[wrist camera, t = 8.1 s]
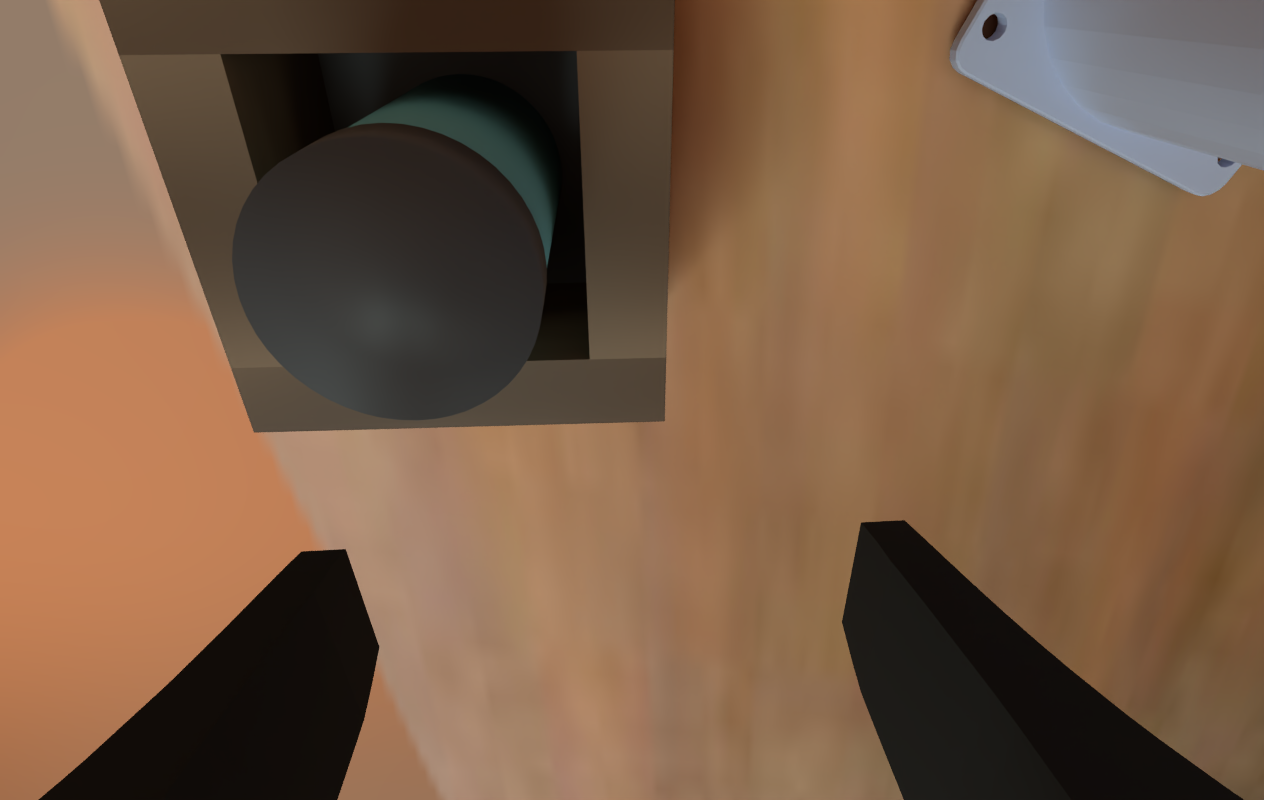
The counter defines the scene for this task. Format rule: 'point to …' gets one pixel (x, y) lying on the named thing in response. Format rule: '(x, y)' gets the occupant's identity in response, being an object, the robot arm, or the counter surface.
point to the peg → (406, 251)
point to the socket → (378, 74)
